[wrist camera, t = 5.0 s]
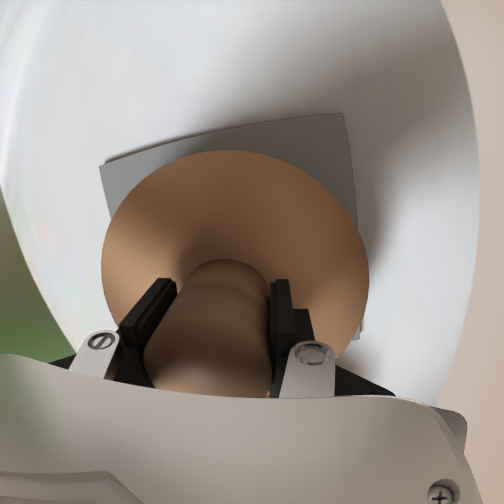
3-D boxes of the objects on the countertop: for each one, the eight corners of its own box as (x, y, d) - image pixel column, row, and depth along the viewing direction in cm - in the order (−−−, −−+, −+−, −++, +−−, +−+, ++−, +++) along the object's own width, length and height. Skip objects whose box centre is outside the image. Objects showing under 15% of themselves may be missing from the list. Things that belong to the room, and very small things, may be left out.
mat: (357, 334, 18) (359, 339, 17) (164, 356, 19) (162, 360, 19) (340, 114, 13) (342, 113, 13) (103, 165, 15) (98, 166, 14)
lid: (239, 409, 17) (229, 487, 11) (79, 282, 14) (12, 337, 8) (406, 285, 13) (467, 355, 7) (222, 93, 11) (181, 38, 5)
